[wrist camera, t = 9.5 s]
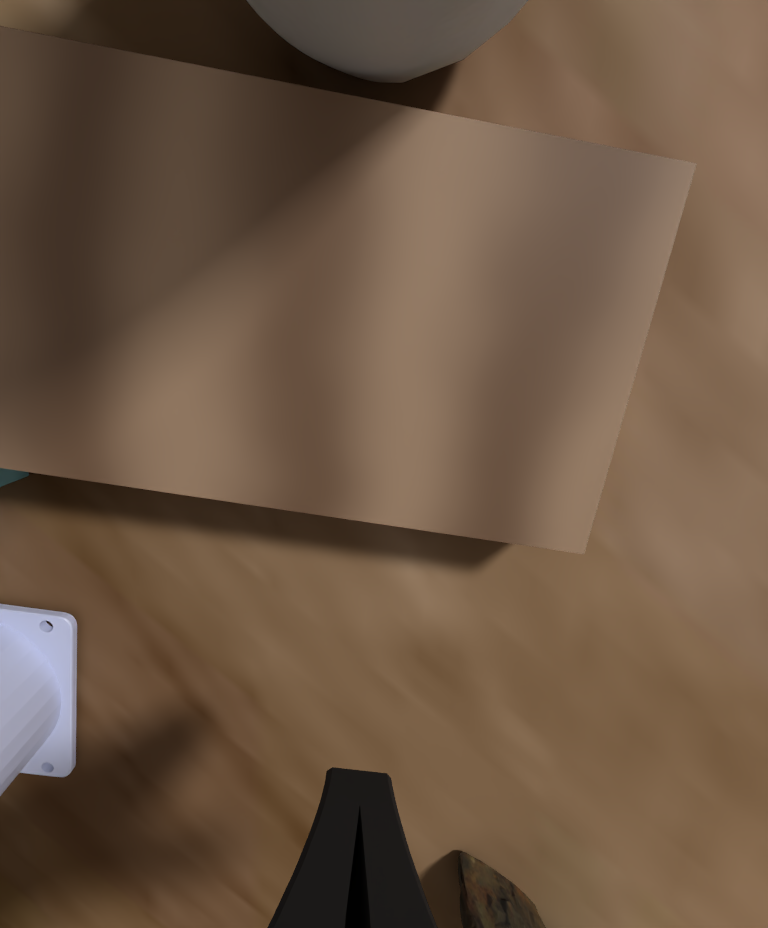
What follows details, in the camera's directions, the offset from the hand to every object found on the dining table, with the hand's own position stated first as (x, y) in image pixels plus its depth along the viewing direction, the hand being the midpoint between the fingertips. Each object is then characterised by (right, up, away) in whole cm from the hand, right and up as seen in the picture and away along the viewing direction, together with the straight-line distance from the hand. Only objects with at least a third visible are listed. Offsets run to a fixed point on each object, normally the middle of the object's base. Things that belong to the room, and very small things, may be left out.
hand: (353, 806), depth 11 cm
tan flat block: (-2, +13, +7) cm, 14 cm away
